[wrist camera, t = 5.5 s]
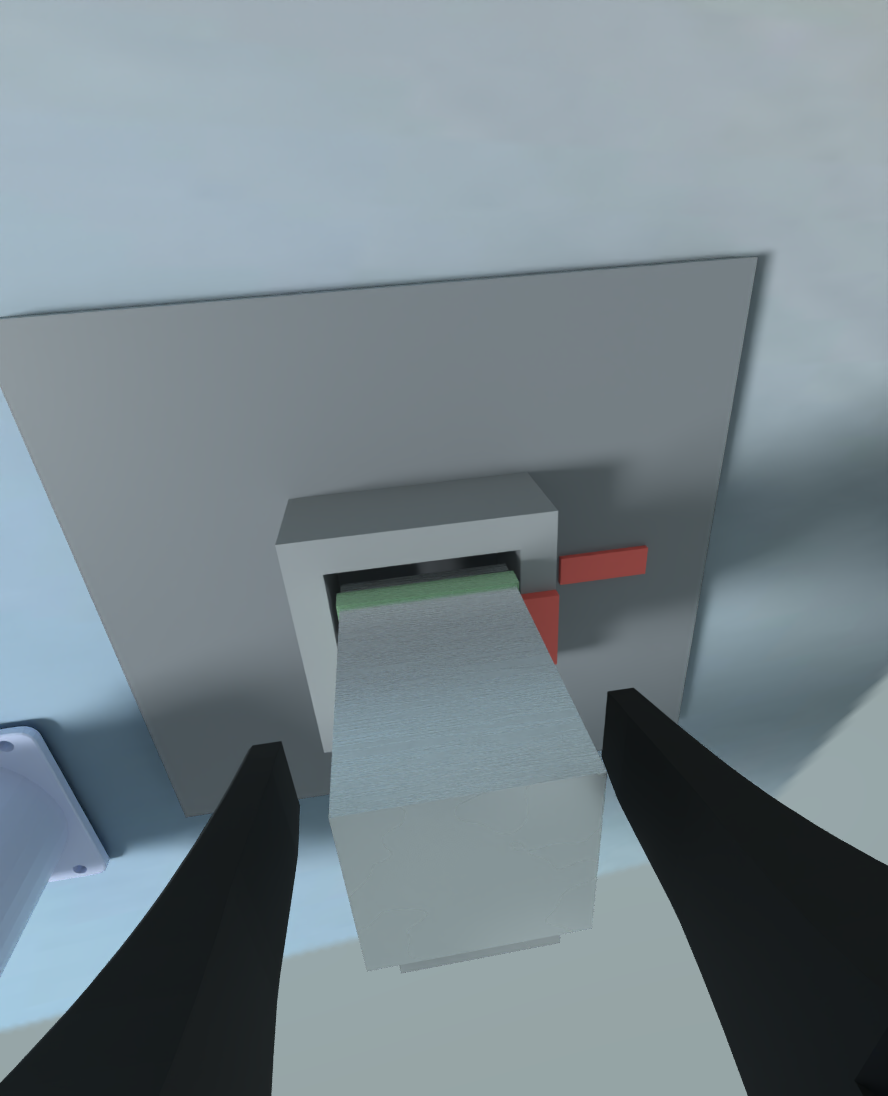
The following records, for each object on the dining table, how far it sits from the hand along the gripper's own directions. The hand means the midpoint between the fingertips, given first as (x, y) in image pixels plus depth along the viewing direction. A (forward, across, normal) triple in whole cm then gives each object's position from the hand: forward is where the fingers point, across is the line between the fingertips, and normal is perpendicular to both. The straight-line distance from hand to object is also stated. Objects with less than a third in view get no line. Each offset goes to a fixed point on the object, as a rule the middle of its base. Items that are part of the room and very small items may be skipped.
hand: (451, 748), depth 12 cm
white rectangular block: (+4, 0, 0) cm, 4 cm away
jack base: (+8, 0, 0) cm, 8 cm away
